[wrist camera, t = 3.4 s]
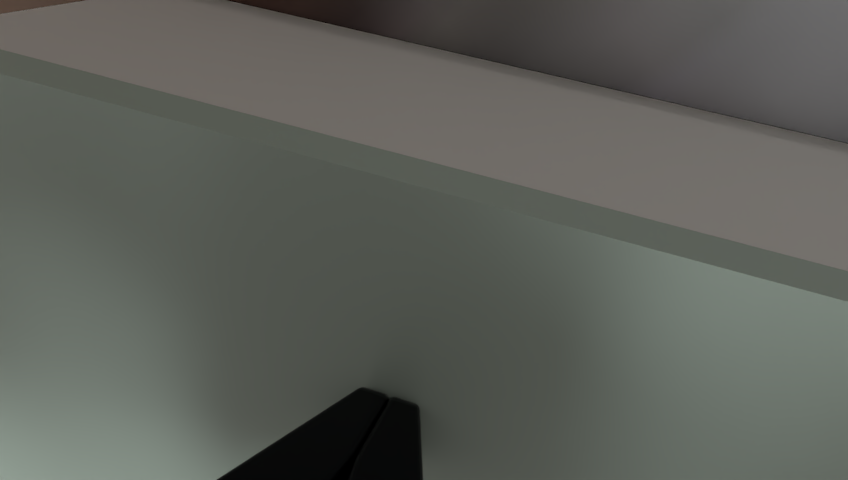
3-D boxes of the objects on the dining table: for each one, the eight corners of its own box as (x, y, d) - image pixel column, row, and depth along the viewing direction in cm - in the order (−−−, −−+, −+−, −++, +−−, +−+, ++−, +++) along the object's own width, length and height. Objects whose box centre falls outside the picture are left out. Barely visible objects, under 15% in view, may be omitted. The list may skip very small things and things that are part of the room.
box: (667, 676, 20) (676, 951, 14) (177, 492, 22) (38, 667, 17) (961, 169, 12) (1201, 363, 7) (169, -14, 15) (-83, 27, 10)
